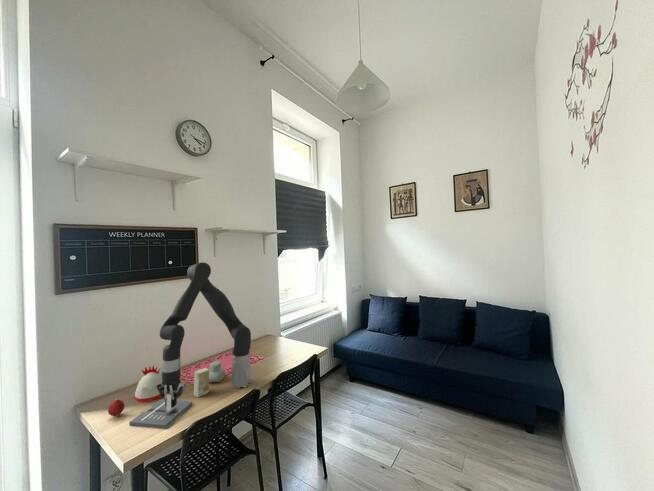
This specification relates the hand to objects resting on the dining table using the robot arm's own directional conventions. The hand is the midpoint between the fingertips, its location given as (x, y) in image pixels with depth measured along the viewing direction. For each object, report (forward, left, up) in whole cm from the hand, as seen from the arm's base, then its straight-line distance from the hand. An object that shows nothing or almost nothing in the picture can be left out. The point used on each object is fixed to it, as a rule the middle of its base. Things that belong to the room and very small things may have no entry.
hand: (170, 406), depth 121 cm
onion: (+24, +4, -4) cm, 25 cm away
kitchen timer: (+23, -15, -4) cm, 28 cm away
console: (+4, 0, -4) cm, 6 cm away
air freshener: (-2, -34, -4) cm, 34 cm away
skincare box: (-3, -19, -4) cm, 20 cm away
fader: (0, 0, -2) cm, 2 cm away
